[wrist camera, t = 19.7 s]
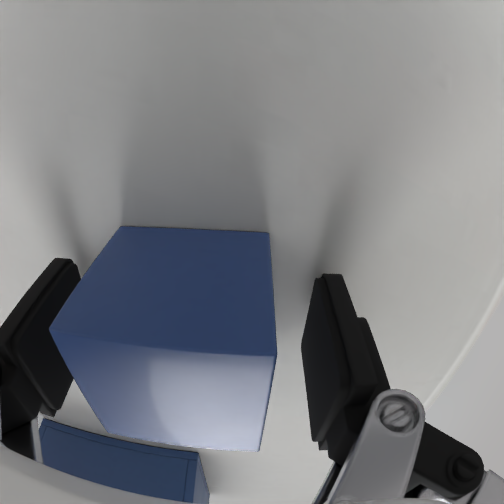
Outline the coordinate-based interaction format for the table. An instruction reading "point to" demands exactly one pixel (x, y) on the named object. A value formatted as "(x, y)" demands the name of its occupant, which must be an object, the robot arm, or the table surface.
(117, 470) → the blue bin
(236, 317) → the blue block
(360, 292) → the table surface
